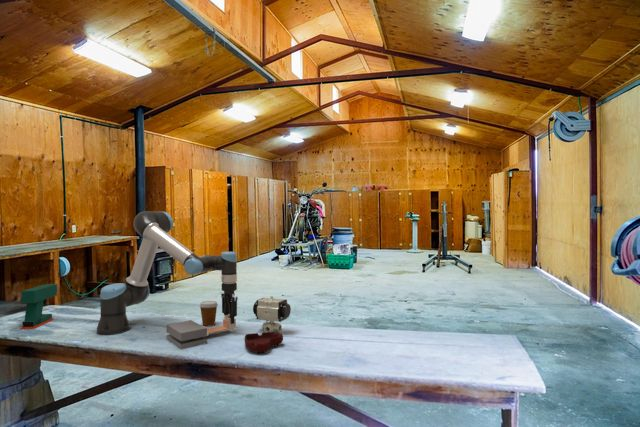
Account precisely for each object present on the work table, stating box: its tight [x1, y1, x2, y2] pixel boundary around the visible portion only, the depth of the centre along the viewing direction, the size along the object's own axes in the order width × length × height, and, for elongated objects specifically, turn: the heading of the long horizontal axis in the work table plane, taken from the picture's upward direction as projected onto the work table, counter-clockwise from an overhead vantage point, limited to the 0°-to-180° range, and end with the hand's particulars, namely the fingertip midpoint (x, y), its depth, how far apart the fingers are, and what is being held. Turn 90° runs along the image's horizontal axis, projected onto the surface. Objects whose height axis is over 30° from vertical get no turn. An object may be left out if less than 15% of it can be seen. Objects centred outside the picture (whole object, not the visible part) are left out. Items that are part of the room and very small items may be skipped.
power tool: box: [20, 283, 60, 330], centre depth 225 cm, size 32×7×20 cm, turn 6°
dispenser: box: [165, 319, 210, 350], centre depth 187 cm, size 13×19×7 cm
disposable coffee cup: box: [199, 300, 219, 327], centre depth 214 cm, size 10×10×12 cm
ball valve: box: [252, 295, 292, 333], centre depth 200 cm, size 18×8×18 cm, turn 67°
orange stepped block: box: [206, 318, 237, 335], centre depth 196 cm, size 18×7×4 cm, turn 130°
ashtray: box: [244, 331, 284, 355], centre depth 177 cm, size 18×16×5 cm
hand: (229, 328), depth 200 cm, fingers closed on orange stepped block, 4 cm apart
